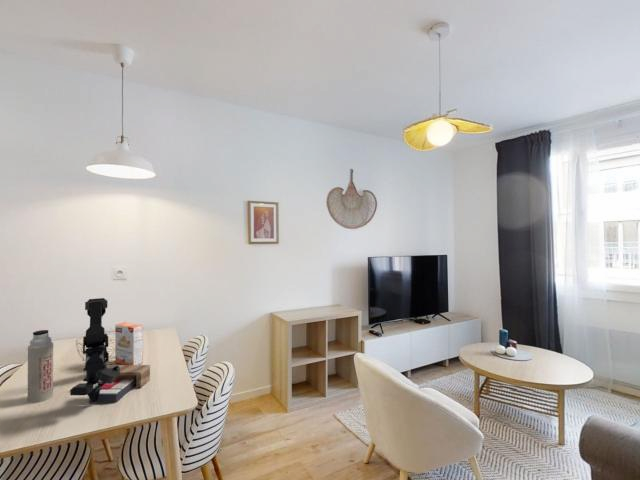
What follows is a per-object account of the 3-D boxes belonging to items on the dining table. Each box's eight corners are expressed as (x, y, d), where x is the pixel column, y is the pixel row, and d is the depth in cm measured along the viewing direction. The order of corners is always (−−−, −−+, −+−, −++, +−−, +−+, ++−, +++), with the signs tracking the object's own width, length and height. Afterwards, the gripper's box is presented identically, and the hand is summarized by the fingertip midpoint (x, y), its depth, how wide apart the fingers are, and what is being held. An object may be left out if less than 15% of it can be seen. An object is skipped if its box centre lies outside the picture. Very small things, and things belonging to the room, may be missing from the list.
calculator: (136, 378, 143) (116, 392, 128) (135, 387, 143) (116, 403, 128) (111, 378, 143) (88, 392, 128) (110, 388, 143) (88, 403, 128)
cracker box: (114, 363, 168) (114, 324, 168) (125, 359, 173) (125, 321, 173) (132, 367, 162) (133, 327, 162) (143, 363, 168) (143, 324, 168)
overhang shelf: (90, 388, 140) (90, 372, 140) (102, 380, 148) (102, 365, 148) (140, 388, 141) (140, 372, 141) (149, 380, 149) (150, 365, 149)
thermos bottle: (56, 396, 133) (56, 330, 132) (31, 404, 126) (31, 335, 126) (48, 391, 137) (49, 327, 137) (24, 399, 130) (24, 332, 130)
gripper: (99, 373, 117) (99, 414, 117) (128, 355, 136) (128, 391, 136) (69, 373, 117) (68, 415, 117) (102, 355, 136) (102, 391, 136)
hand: (94, 402), depth 126 cm, fingers closed
